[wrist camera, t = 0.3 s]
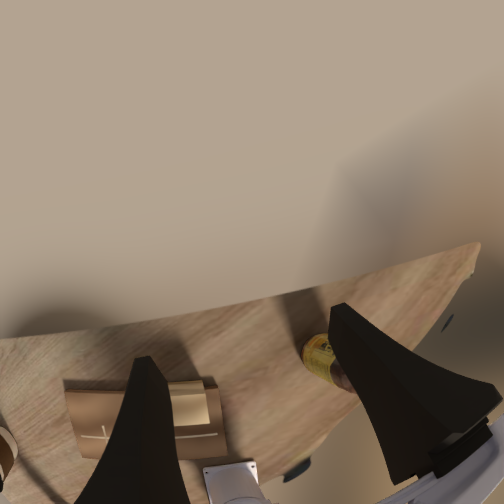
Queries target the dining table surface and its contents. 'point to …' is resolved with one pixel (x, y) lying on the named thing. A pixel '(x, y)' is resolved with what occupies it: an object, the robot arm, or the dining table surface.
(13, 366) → the dining table surface
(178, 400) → the light wooden block
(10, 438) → the coffee cup
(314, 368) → the sauce bottle
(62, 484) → the dining table surface
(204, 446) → the walnut board
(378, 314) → the dining table surface
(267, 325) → the dining table surface
